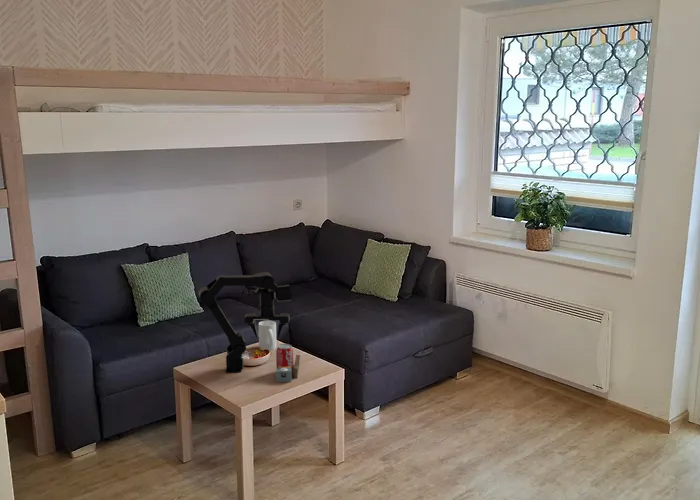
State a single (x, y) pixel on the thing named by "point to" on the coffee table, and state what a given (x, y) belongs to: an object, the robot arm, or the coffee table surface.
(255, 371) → the coffee table surface
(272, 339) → the mug
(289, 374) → the gauge cabinet
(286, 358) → the soda can
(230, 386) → the coffee table surface
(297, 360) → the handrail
